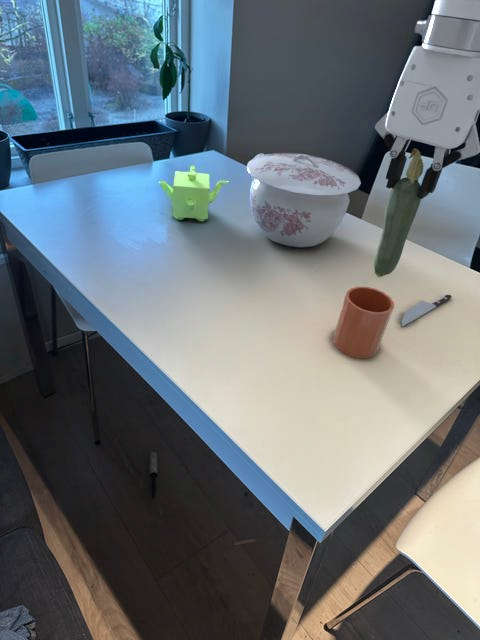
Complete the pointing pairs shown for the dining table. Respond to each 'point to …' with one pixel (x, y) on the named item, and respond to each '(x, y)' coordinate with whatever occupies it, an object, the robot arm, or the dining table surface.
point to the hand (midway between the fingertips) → (407, 189)
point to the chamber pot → (299, 197)
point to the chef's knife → (421, 310)
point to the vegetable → (399, 217)
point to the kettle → (191, 194)
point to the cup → (362, 321)
